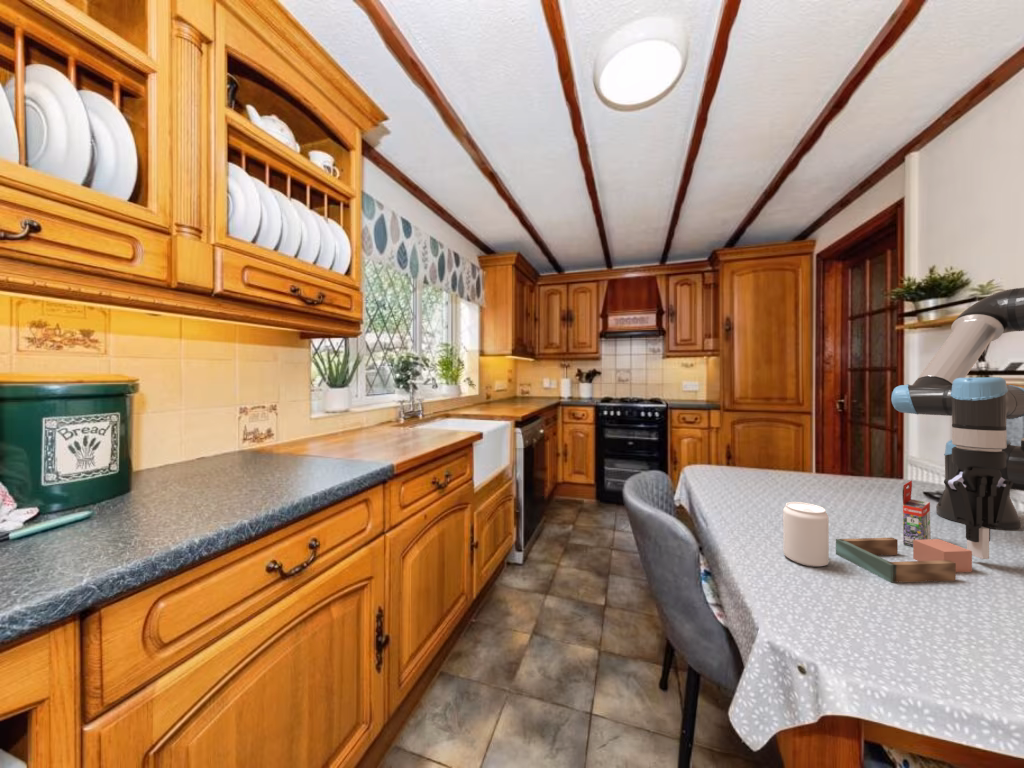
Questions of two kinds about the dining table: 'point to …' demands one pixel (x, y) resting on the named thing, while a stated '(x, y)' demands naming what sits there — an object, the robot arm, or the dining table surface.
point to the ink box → (914, 517)
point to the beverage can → (806, 534)
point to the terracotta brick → (942, 553)
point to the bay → (910, 571)
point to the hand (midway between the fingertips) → (977, 555)
